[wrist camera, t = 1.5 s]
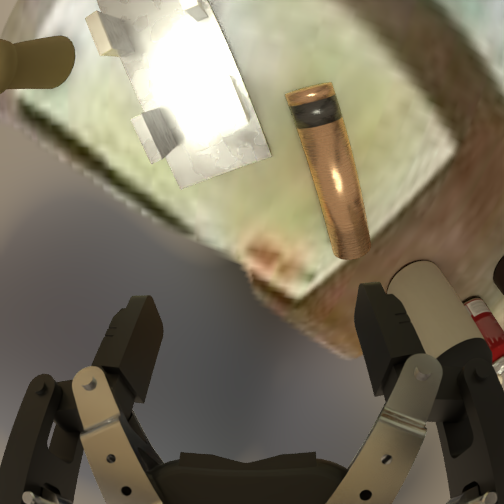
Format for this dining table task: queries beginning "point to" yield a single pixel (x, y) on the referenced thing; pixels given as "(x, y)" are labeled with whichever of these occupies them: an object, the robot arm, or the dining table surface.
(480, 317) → the soda can
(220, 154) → the grey rack
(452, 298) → the travel mug
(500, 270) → the bottle
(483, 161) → the dining table surface
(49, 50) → the cork
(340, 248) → the tube
